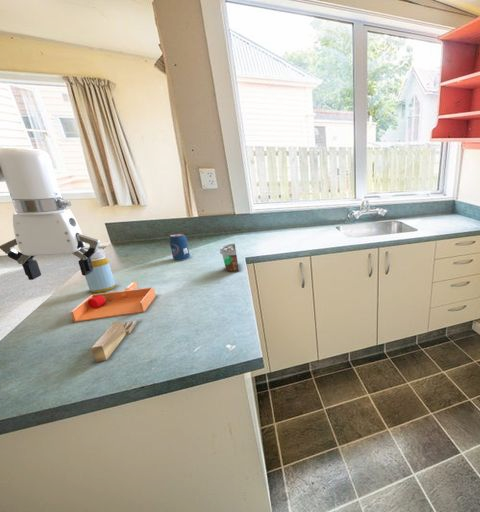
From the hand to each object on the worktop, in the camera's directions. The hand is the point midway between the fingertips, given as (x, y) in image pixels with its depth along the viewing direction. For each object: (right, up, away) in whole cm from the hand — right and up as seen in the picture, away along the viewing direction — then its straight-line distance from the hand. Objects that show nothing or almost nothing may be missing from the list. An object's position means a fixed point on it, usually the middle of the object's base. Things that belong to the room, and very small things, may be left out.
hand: (62, 275), depth 72 cm
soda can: (-19, +3, +71) cm, 74 cm away
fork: (+8, -18, +6) cm, 20 cm away
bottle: (-25, -8, +37) cm, 45 cm away
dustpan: (-9, -11, +28) cm, 31 cm away
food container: (+11, -1, +58) cm, 59 cm away
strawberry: (-14, -10, +22) cm, 28 cm away
